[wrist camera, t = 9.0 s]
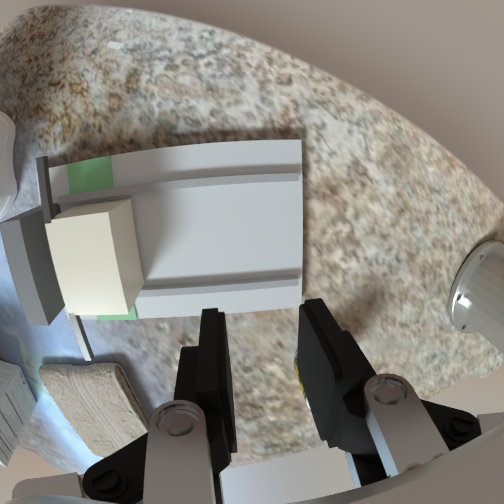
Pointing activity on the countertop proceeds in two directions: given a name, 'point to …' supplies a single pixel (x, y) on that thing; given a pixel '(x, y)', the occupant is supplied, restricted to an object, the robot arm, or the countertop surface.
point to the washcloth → (97, 404)
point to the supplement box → (13, 408)
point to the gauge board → (181, 228)
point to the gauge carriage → (92, 256)
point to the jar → (7, 164)
